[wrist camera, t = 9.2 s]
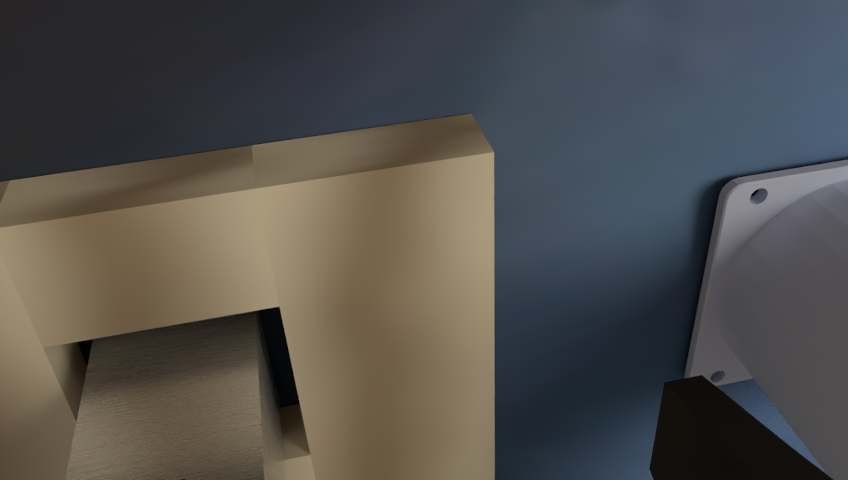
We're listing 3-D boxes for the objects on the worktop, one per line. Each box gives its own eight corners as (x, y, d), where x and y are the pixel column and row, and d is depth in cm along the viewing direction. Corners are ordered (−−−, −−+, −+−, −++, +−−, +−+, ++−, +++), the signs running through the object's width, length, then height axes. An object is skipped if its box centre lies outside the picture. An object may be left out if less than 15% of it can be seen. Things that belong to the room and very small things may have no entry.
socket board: (471, 113, 19) (493, 152, 18) (477, 441, 26) (494, 490, 25) (-248, 217, 17) (-297, 273, 15) (-32, 545, 24) (-51, 606, 22)
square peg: (253, 288, 21) (265, 508, 15) (278, 394, 23) (297, 619, 18) (97, 315, 20) (50, 554, 15) (138, 421, 23) (112, 662, 17)
